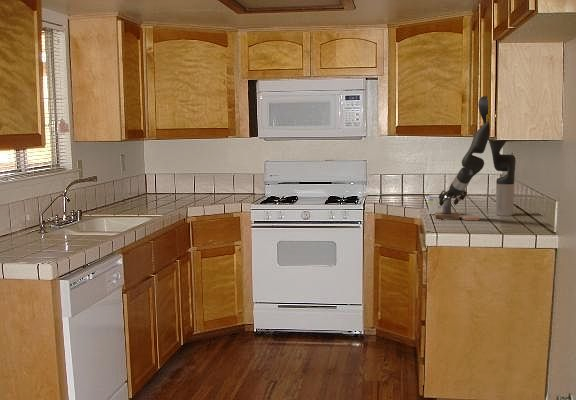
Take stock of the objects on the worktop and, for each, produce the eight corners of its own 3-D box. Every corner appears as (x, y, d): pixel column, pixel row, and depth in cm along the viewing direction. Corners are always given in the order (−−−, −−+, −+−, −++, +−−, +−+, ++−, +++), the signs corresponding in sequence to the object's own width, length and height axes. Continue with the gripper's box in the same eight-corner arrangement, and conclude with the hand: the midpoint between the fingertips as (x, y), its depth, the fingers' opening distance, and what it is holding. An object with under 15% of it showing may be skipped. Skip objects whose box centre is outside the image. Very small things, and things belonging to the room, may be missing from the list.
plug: (441, 217, 343) (441, 193, 342) (451, 217, 342) (451, 193, 341) (441, 219, 338) (442, 194, 337) (452, 219, 337) (452, 194, 336)
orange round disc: (460, 218, 340) (460, 216, 340) (478, 218, 339) (478, 216, 339) (462, 220, 332) (462, 218, 332) (480, 220, 330) (480, 219, 330)
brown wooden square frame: (434, 216, 347) (434, 212, 347) (457, 216, 345) (457, 212, 345) (435, 219, 336) (435, 215, 335) (459, 220, 333) (459, 215, 333)
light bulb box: (450, 214, 357) (450, 195, 355) (446, 215, 351) (447, 196, 350) (431, 213, 362) (432, 194, 361) (428, 214, 356) (428, 195, 355)
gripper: (468, 178, 331) (456, 198, 343) (444, 179, 327) (433, 199, 339) (474, 189, 326) (461, 209, 339) (450, 190, 322) (438, 210, 335)
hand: (447, 204), depth 339 cm, fingers open, 8 cm apart
